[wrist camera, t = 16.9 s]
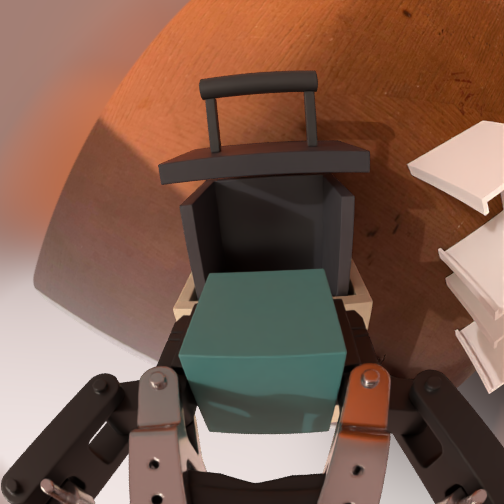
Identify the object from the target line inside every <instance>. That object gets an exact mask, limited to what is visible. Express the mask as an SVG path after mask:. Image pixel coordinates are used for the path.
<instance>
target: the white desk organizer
mask: <svg viewBox="0 0 504 504" xmlns="http://www.w3.org/2000/svg"><path fill="white" fill-rule="evenodd" d="M407 165H408V168H409V170H410V172H411V175H413V176H415V177H417V178H419V179H421V180H423V181H425V182H427V183H429V184H431V185H433V186H435V187H437V188H438V189H440V190H442V191H444V192H446V193H448V194H450V195H451V196H453V197H455V198H457V199H458V200H460V201H462V202H464V203H465V204H467V205H469V206H470V207H472V208H474V209H475V210H477V211H479V212H480V213H482V214H484V215H486V214H488V213H489V209H488V204H487V202H488V201H489V200H491V199H492V198H493V197H495V196H496V195H497V194H499V193H501V198H502V204H503V211H502V212H500V213H499V214H498V215H496V216H495V217H494V218H492V219H491V220H490V221H488V222H487V223H486V224H484V225H483V226H481V227H480V228H479V229H477V230H476V231H474V232H473V233H471V234H470V235H469V236H467V237H466V238H464V239H463V240H461V241H460V242H458V243H457V244H455V245H454V246H452V247H451V248H449V249H448V250H446V251H445V252H444V251H443V250H442V249H441V248H439V249H438V252H439V256H440V258H441V259H442V260H443V261H444V262H445V263H446V264H447V265H448V266H449V268H450V269H451V270H452V271H453V272H454V273H452V274H451V275H449V276H448V277H446V278H445V279H446V284H447V286H448V287H449V288H450V290H451V291H452V292H453V293H454V295H455V296H456V297H457V298H458V300H459V301H460V302H461V304H462V305H463V306H464V307H465V309H466V310H467V311H468V313H469V314H470V315H471V317H472V318H473V319H474V322H472V323H471V324H470V325H468V326H467V327H465V328H464V329H462V330H460V331H458V329H457V330H455V333H456V336H457V338H458V340H459V341H460V343H461V344H462V346H463V348H464V349H465V351H466V353H467V354H468V356H469V358H470V360H471V361H472V363H473V365H474V367H475V368H476V370H477V372H478V374H479V376H480V377H481V379H482V381H483V383H484V385H485V387H486V389H487V391H488V393H489V394H490V393H491V392H493V391H494V390H495V389H497V388H498V387H500V386H501V385H502V384H504V124H502V123H496V122H490V121H481V122H479V123H478V124H476V125H474V126H472V127H471V128H469V129H467V130H466V131H464V132H462V133H460V134H459V135H457V136H455V137H453V138H452V139H450V140H448V141H446V142H445V143H443V144H441V145H440V146H438V147H436V148H434V149H433V150H431V151H429V152H427V153H426V154H424V155H422V156H420V157H419V158H417V159H415V160H414V161H412V162H410V163H408V164H407Z"/></svg>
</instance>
